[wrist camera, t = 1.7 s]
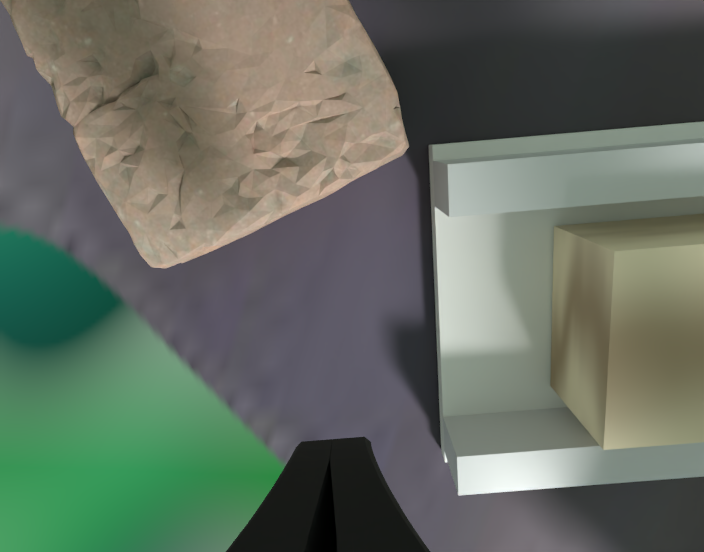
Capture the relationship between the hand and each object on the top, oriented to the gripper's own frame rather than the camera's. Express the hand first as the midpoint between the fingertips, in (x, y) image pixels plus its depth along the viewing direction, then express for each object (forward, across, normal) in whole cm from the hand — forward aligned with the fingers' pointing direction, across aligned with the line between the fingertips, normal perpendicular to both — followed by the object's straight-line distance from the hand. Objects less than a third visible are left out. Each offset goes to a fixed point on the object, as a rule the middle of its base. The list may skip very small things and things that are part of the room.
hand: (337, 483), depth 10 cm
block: (+8, -12, 0) cm, 14 cm away
